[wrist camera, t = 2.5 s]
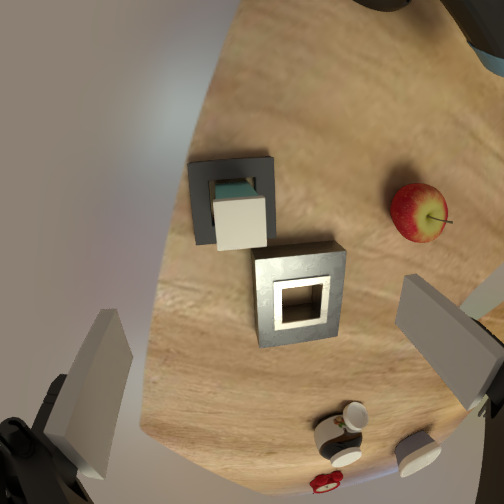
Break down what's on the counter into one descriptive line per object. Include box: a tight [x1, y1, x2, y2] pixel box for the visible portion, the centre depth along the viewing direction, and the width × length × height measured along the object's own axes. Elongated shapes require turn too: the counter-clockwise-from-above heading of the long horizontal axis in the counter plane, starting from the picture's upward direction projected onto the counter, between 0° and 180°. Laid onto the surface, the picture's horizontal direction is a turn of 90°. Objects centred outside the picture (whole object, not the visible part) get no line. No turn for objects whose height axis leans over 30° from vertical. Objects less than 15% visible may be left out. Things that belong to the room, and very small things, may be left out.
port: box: [251, 241, 346, 348], centre depth 41 cm, size 14×12×4 cm
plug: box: [213, 181, 267, 251], centre depth 31 cm, size 4×4×12 cm
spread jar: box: [314, 402, 369, 467], centre depth 52 cm, size 12×11×12 cm
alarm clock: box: [310, 471, 343, 494], centre depth 71 cm, size 10×6×15 cm
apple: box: [390, 183, 453, 243], centre depth 35 cm, size 8×8×10 cm
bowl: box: [395, 431, 441, 477], centre depth 68 cm, size 15×15×11 cm
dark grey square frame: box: [187, 156, 276, 245], centre depth 35 cm, size 10×10×2 cm
